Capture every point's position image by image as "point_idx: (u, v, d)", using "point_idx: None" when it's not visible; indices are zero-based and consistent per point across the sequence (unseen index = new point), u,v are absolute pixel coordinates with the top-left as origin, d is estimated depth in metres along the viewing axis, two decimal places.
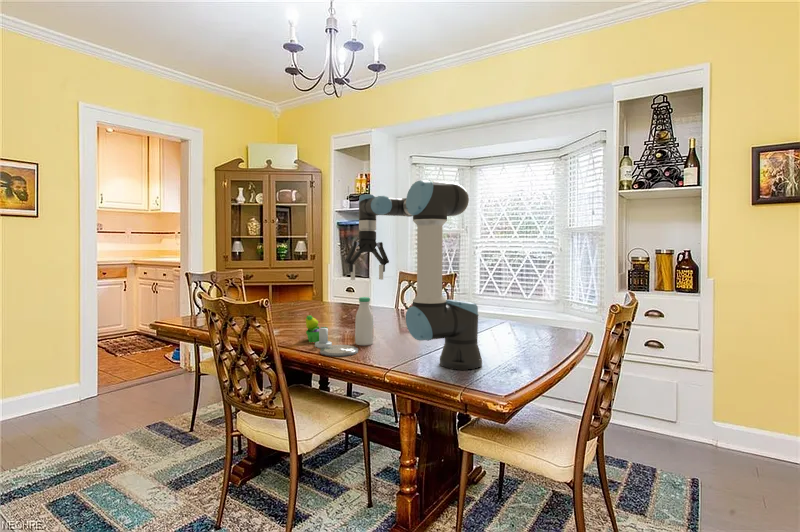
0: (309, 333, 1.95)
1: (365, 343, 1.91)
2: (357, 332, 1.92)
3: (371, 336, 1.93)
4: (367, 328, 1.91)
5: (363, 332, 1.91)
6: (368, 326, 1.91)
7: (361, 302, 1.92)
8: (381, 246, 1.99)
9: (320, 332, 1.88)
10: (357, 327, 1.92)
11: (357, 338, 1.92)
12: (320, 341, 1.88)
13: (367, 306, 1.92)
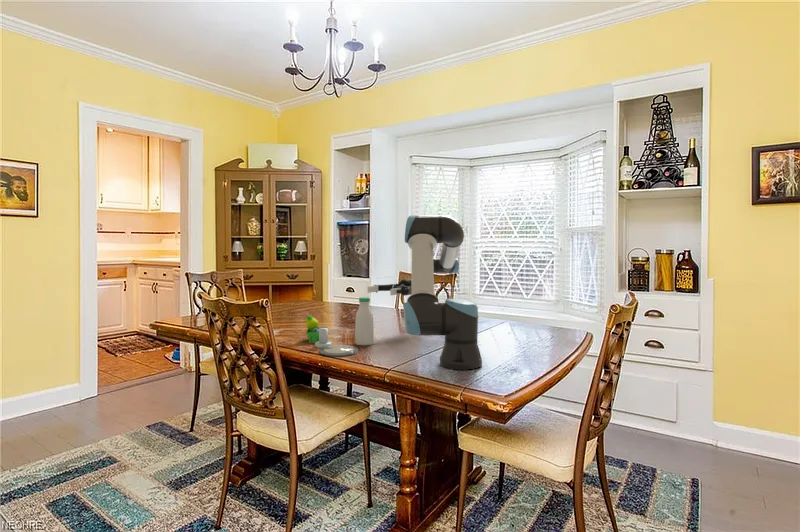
0: (309, 333, 1.95)
1: (365, 343, 1.91)
2: (357, 332, 1.92)
3: (371, 336, 1.93)
4: (367, 328, 1.91)
5: (363, 332, 1.91)
6: (368, 326, 1.91)
7: (361, 302, 1.92)
8: None
9: (320, 332, 1.88)
10: (357, 327, 1.92)
11: (357, 338, 1.92)
12: (320, 341, 1.88)
13: (367, 306, 1.92)
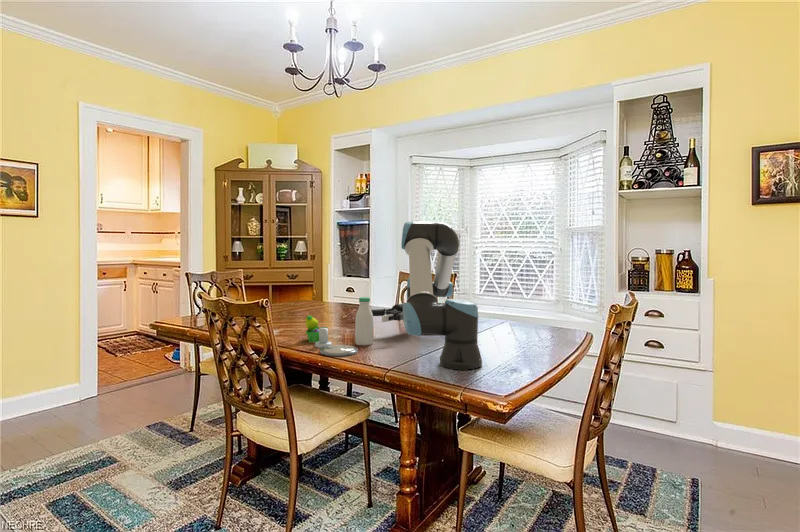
0: (309, 333, 1.95)
1: (365, 343, 1.91)
2: (357, 332, 1.92)
3: (371, 336, 1.93)
4: (367, 328, 1.91)
5: (363, 332, 1.91)
6: (368, 326, 1.91)
7: (361, 302, 1.92)
8: (403, 312, 2.05)
9: (320, 332, 1.88)
10: (357, 327, 1.92)
11: (357, 338, 1.92)
12: (320, 341, 1.88)
13: (367, 306, 1.92)
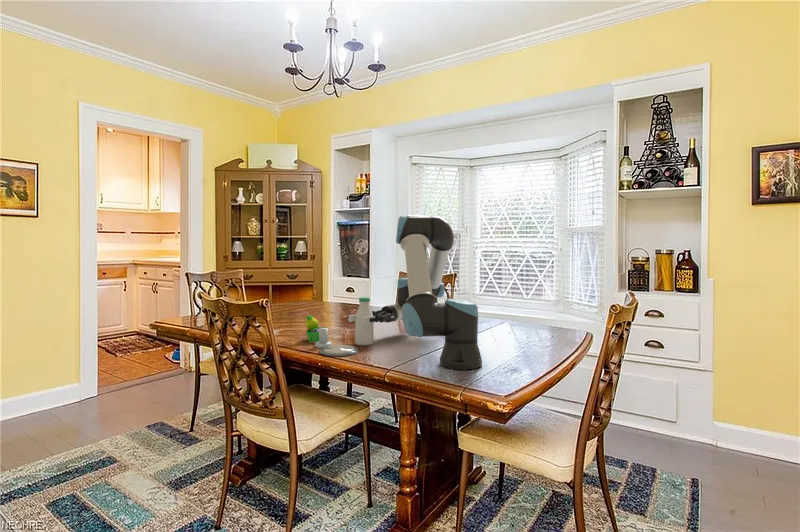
0: (309, 333, 1.95)
1: (365, 343, 1.91)
2: (357, 332, 1.92)
3: (371, 336, 1.93)
4: (367, 328, 1.91)
5: (363, 332, 1.91)
6: (368, 326, 1.91)
7: (361, 302, 1.92)
8: (390, 314, 1.98)
9: (320, 332, 1.88)
10: (357, 327, 1.92)
11: (357, 338, 1.92)
12: (320, 341, 1.88)
13: (367, 306, 1.92)
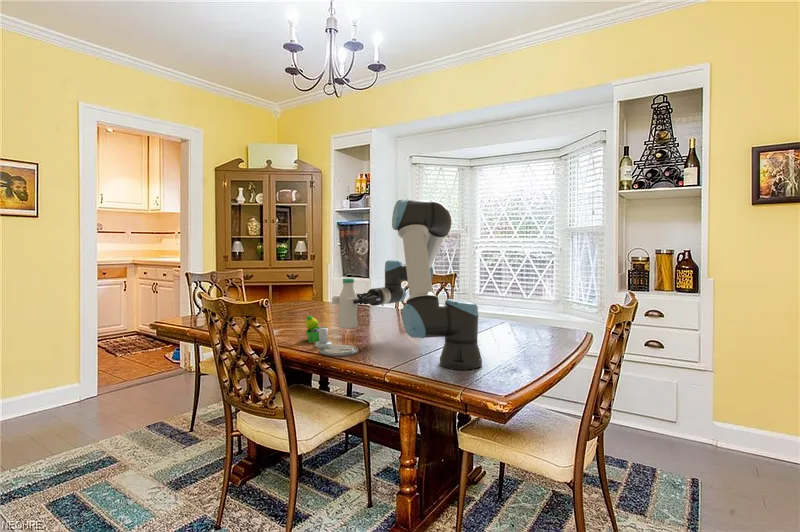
0: (309, 333, 1.95)
1: (349, 326, 1.83)
2: (340, 314, 1.83)
3: (355, 319, 1.84)
4: (351, 310, 1.83)
5: (347, 315, 1.82)
6: (352, 308, 1.83)
7: (345, 283, 1.84)
8: (376, 296, 1.90)
9: (320, 332, 1.88)
10: (340, 309, 1.83)
11: (340, 321, 1.84)
12: (320, 341, 1.88)
13: (351, 287, 1.84)
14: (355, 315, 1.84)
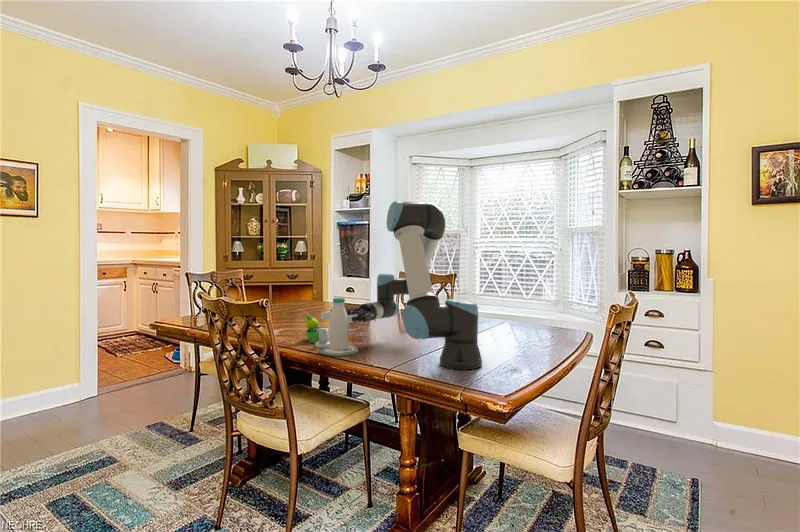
0: (309, 333, 1.95)
1: (339, 347, 1.77)
2: (331, 335, 1.77)
3: (346, 340, 1.78)
4: (342, 331, 1.76)
5: (338, 336, 1.76)
6: (343, 329, 1.77)
7: (335, 304, 1.77)
8: (370, 312, 1.84)
9: (320, 332, 1.88)
10: (331, 330, 1.77)
11: (331, 342, 1.77)
12: (320, 341, 1.88)
13: (341, 307, 1.78)
14: (346, 336, 1.78)
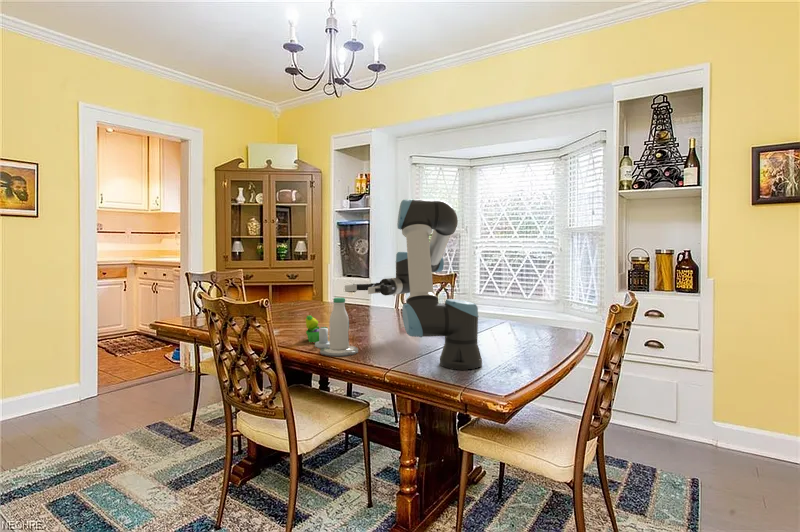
0: (309, 333, 1.95)
1: (340, 347, 1.77)
2: (331, 335, 1.77)
3: (346, 340, 1.78)
4: (342, 330, 1.77)
5: (338, 336, 1.76)
6: (343, 329, 1.77)
7: (335, 303, 1.78)
8: (391, 285, 1.94)
9: (320, 332, 1.88)
10: (331, 330, 1.77)
11: (331, 342, 1.77)
12: (320, 341, 1.88)
13: (342, 307, 1.78)
14: (346, 336, 1.78)
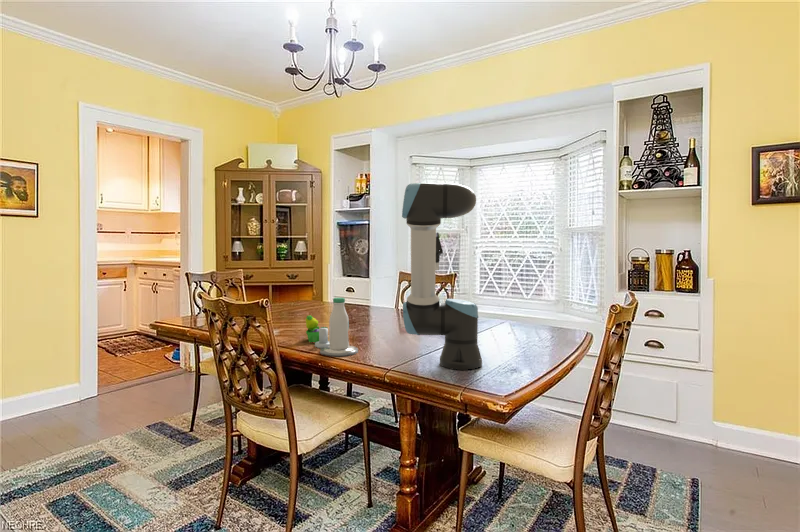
0: (309, 333, 1.95)
1: (340, 347, 1.77)
2: (331, 335, 1.77)
3: (346, 340, 1.78)
4: (342, 331, 1.76)
5: (338, 336, 1.76)
6: (343, 329, 1.77)
7: (335, 303, 1.78)
8: None
9: (320, 332, 1.88)
10: (331, 330, 1.77)
11: (331, 342, 1.77)
12: (320, 341, 1.88)
13: (342, 307, 1.78)
14: (346, 336, 1.78)
